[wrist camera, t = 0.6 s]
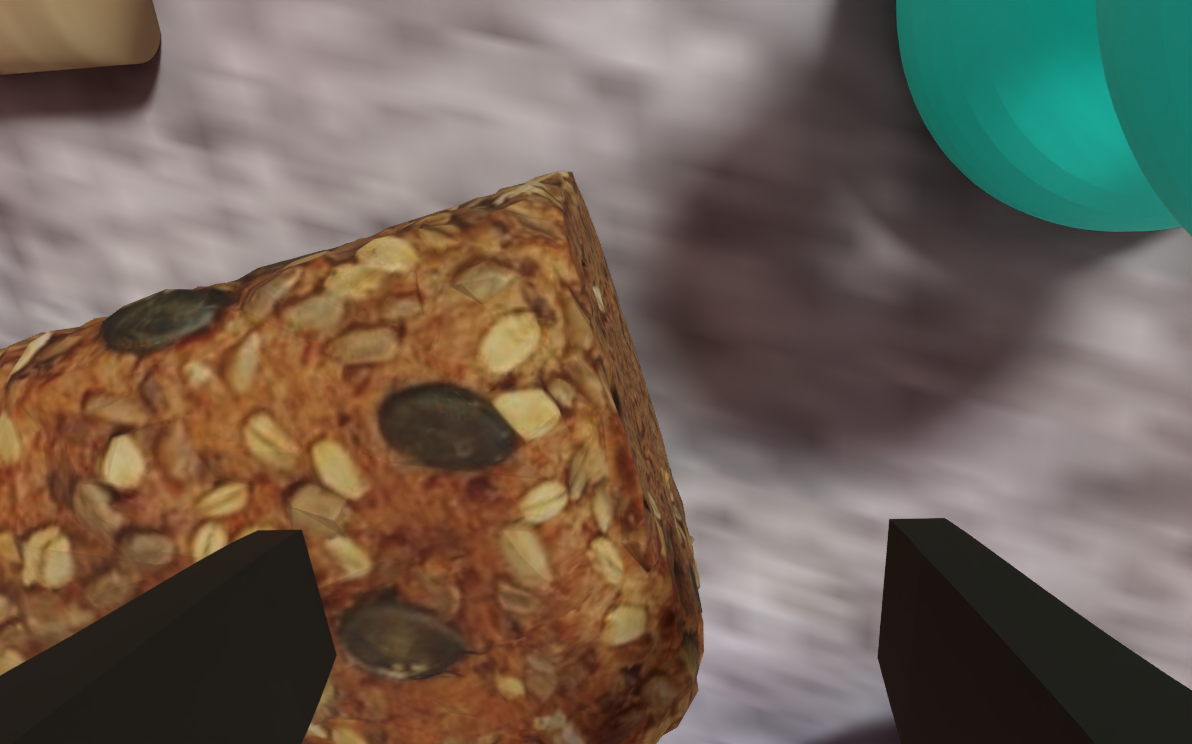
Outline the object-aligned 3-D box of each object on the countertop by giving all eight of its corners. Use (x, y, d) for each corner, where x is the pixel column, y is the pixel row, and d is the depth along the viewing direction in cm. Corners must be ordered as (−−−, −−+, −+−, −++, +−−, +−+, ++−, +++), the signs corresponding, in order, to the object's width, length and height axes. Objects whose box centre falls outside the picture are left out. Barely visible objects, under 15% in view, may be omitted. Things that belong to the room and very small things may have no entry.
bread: (155, 628, 23) (-175, 978, 14) (-34, 335, 20) (-636, 550, 11) (704, 515, 20) (739, 883, 11) (594, 136, 16) (505, 197, 7)
